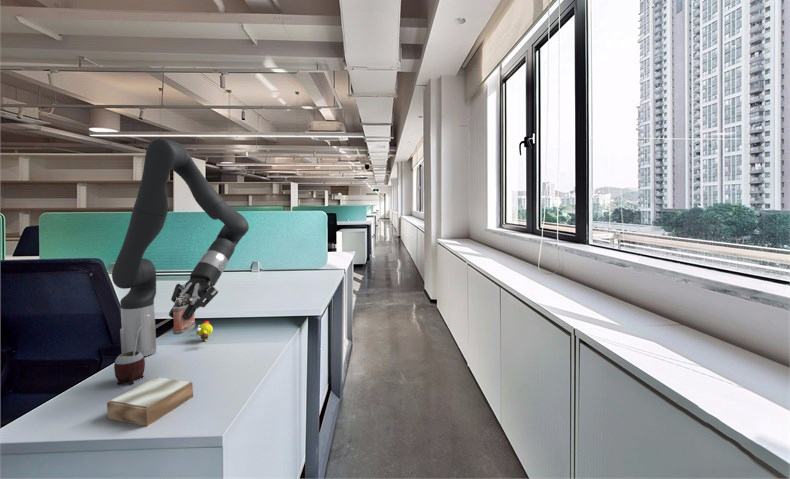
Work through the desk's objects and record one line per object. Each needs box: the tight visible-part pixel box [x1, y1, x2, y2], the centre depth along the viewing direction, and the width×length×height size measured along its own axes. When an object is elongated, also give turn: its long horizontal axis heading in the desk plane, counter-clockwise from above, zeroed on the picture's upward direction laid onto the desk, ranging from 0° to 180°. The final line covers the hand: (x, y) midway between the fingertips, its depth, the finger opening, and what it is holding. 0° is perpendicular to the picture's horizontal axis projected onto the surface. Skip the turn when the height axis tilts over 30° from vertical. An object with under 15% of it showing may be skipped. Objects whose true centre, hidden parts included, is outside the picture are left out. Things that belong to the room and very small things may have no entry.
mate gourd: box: [113, 325, 146, 386], centre depth 100 cm, size 8×8×15 cm
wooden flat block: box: [106, 376, 194, 427], centre depth 87 cm, size 12×13×4 cm
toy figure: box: [196, 320, 214, 342], centre depth 131 cm, size 18×6×7 cm, turn 27°
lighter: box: [171, 294, 196, 335], centre depth 98 cm, size 8×3×10 cm, turn 1°
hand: (178, 317), depth 96 cm, fingers closed on lighter, 4 cm apart
